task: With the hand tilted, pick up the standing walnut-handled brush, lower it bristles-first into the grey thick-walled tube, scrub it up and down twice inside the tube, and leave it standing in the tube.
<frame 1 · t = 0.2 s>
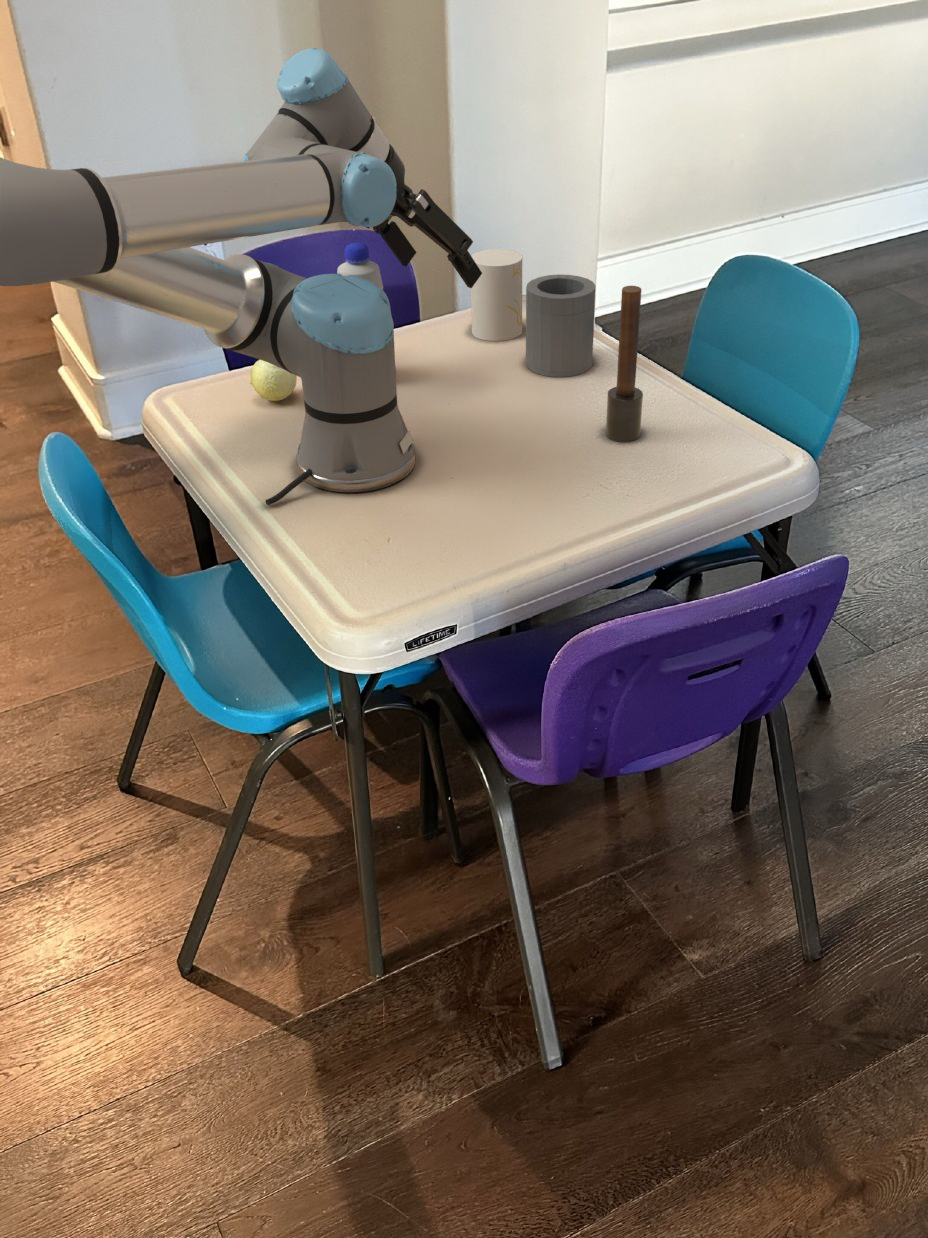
hand: (441, 269, 162), 15 cm above the table, tool tilted 35°, fingers open, 13 cm apart
tennis ball: (276, 400, 164), on the table
cream marbled cylinder: (497, 332, 183), on the table
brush: (622, 434, 152), on the table
bottle: (367, 378, 169), on the table
grey thick-walled tube: (559, 363, 171), on the table
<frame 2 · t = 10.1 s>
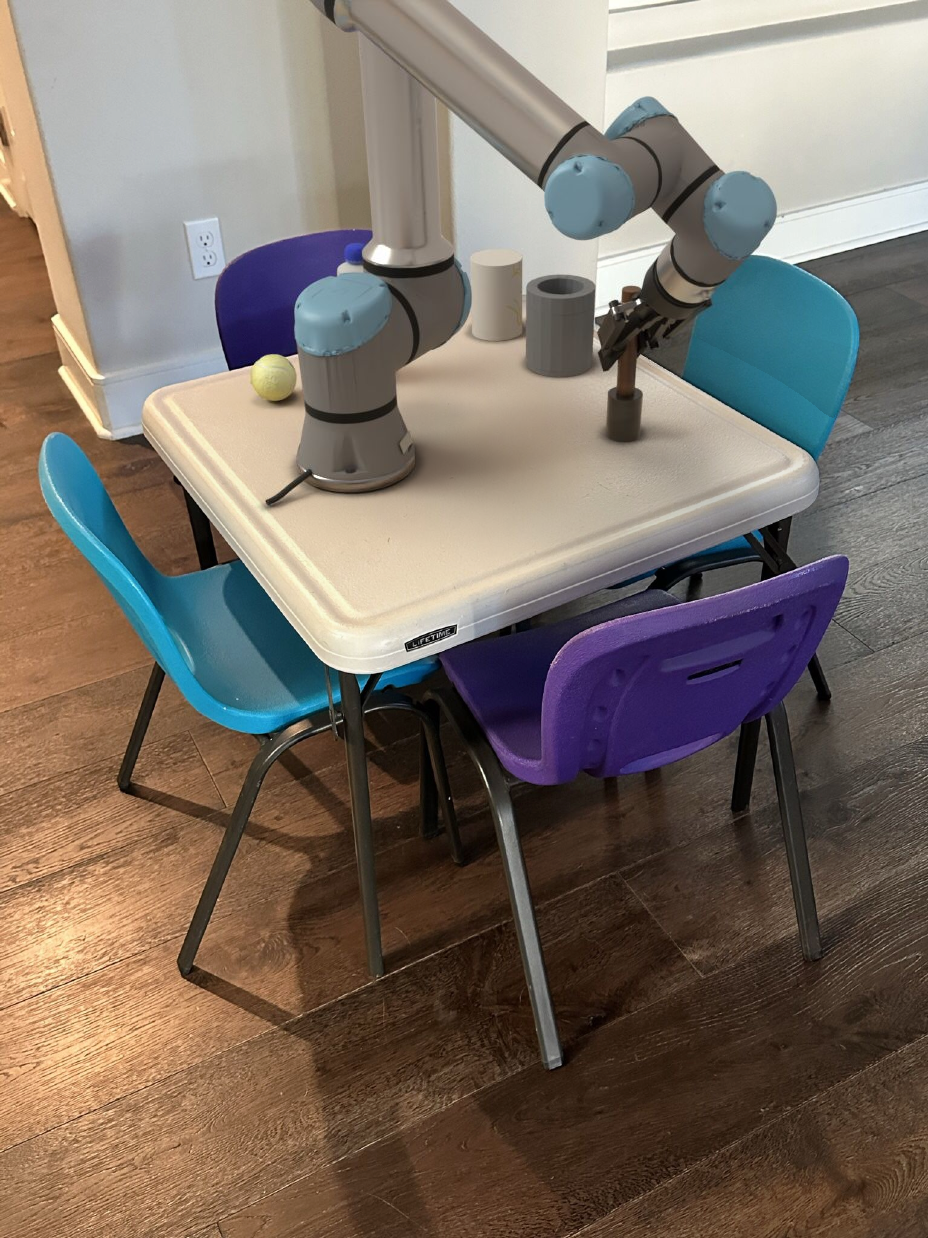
hand: (613, 359, 149), 9 cm above the table, tool tilted 45°, fingers closed on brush, 2 cm apart
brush: (622, 434, 152), on the table, touching gripper
everything else where it was.
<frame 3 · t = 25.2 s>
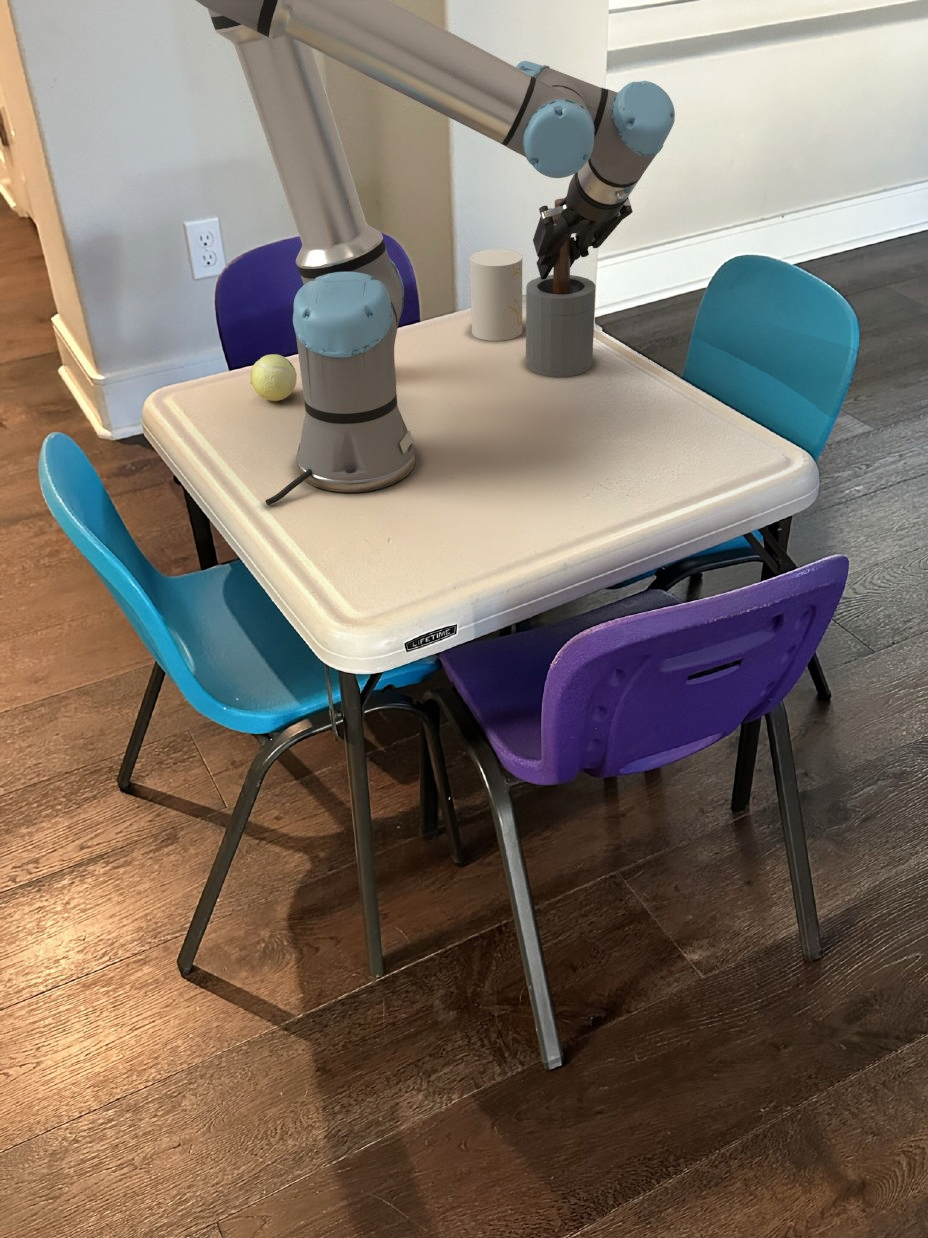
hand: (550, 269, 167), 13 cm above the table, tool tilted 45°, fingers closed on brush, 2 cm apart
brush: (560, 337, 169), point 4 cm above the table, touching gripper
everything else where it was.
when the fingers open (14 cm above the table, at t = 25.4 s): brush drops 4 cm, resting on grey thick-walled tube.
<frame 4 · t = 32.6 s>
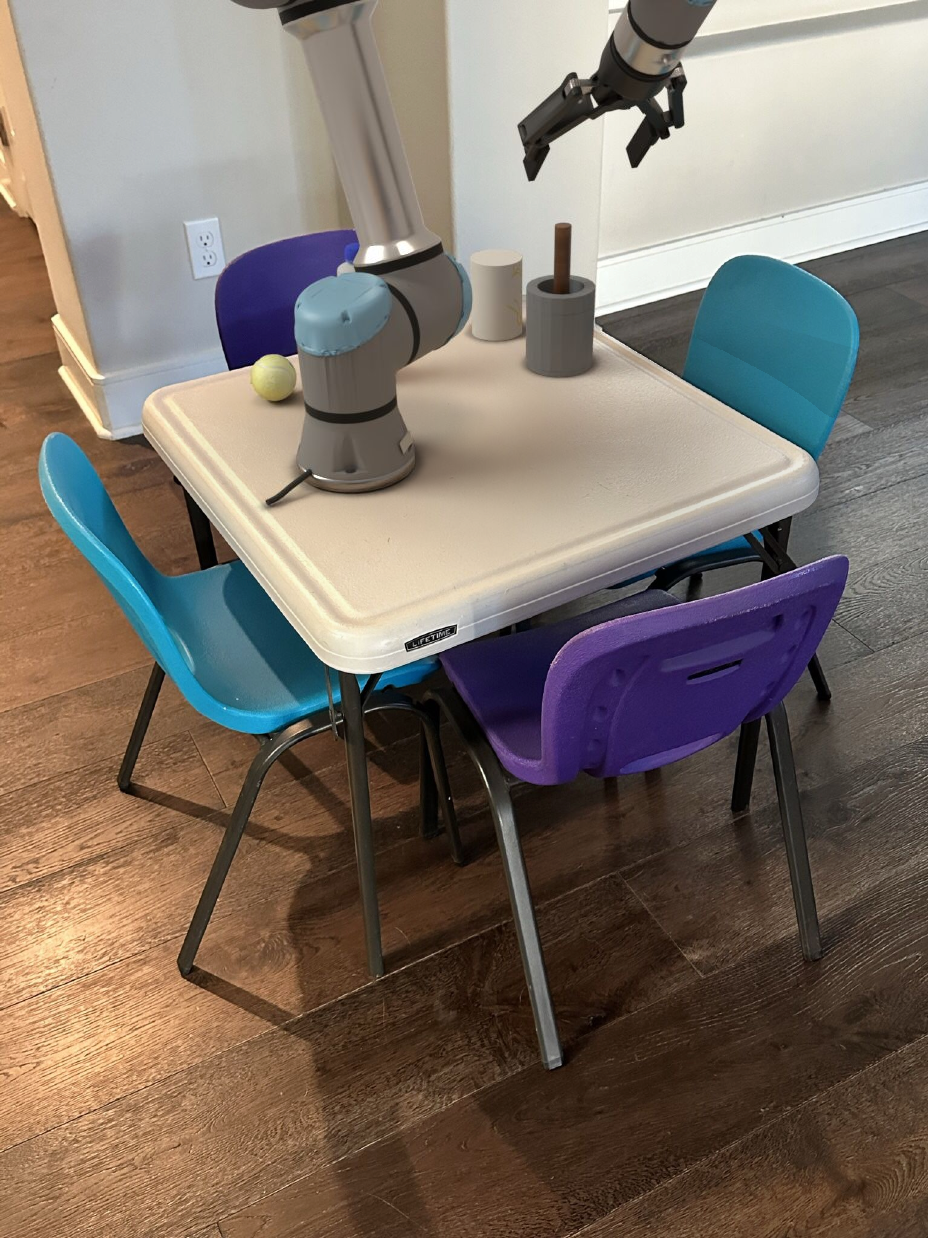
hand: (580, 164, 136), 34 cm above the table, tool tilted 45°, fingers open, 13 cm apart
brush: (559, 358, 171), point 1 cm above the table, touching grey thick-walled tube
everything else where it was.
at the end: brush 0.1 cm off-centre in the grey thick-walled tube, point 0.8 cm above the grey thick-walled tube's base; the gripper is holding nothing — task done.
